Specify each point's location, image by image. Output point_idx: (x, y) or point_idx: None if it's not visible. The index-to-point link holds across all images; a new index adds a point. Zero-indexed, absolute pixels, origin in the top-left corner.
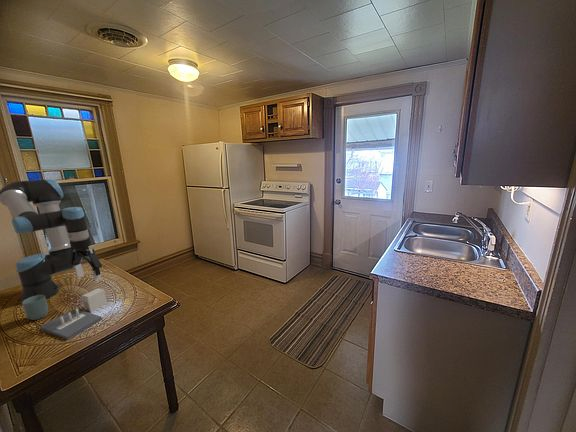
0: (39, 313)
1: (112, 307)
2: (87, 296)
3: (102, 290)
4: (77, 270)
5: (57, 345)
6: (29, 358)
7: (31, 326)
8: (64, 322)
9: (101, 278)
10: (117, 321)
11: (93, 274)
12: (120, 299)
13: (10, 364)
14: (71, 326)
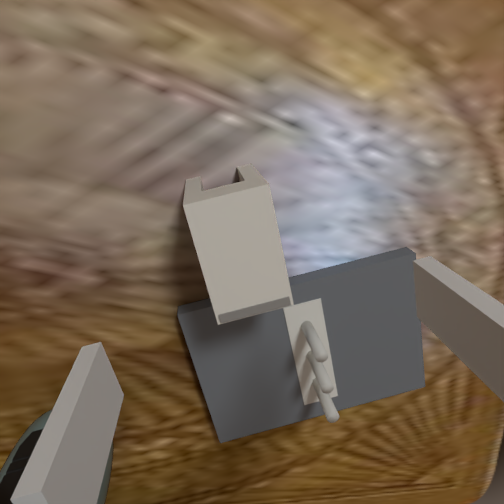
0: (112, 451)
1: (338, 165)
2: (267, 297)
3: (269, 197)
4: (96, 467)
5: (413, 404)
6: (397, 464)
7: (151, 450)
8: (289, 374)
9: (437, 261)
10: (501, 207)
11: (483, 375)
12: (284, 86)
13: (373, 498)
14: (359, 361)
